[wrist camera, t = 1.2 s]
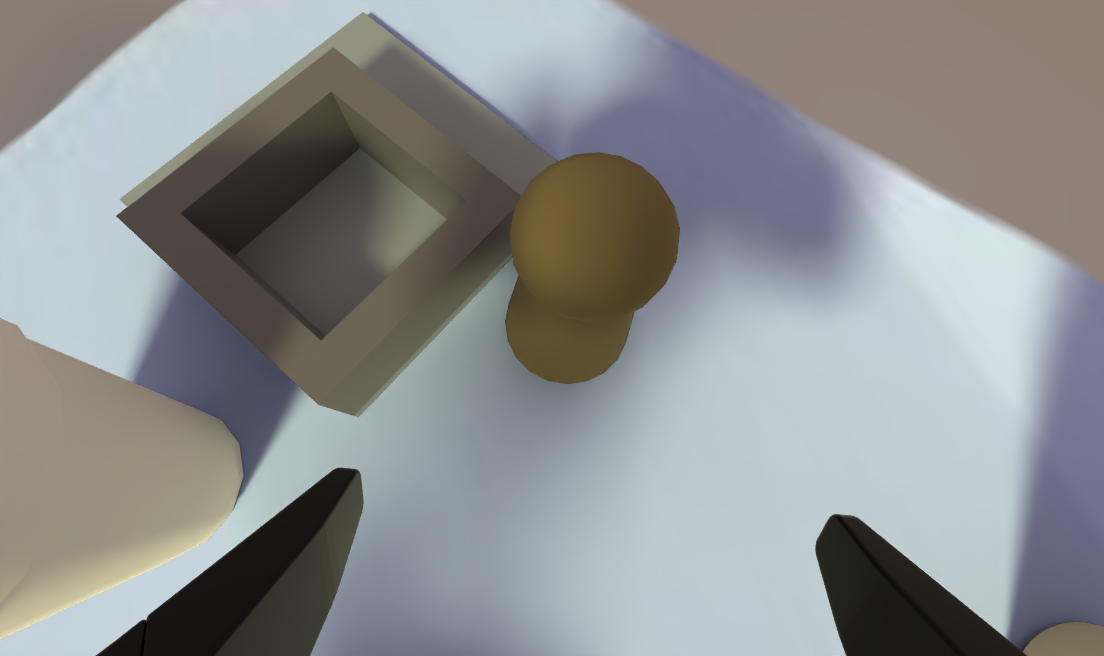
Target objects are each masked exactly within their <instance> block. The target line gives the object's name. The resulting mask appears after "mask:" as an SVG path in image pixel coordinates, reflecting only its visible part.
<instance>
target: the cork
mask: <svg viewBox="0 0 1104 656" xmlns="http://www.w3.org/2000/svg"><path fill="white" fill-rule="evenodd" d="M679 232H680V228H679V224H678V220H677V215H676V211H675V207H674V205H673V203H672V202H671V200H670V198H669V197H668V195H667V194H666V192H665V190H664V189H663V187H662V186H661V184H660V183H659V181H658V180H656V179H655V178H654V177H653V176H652V175H651V174H650V173H649V172H647V171H646V170H645V169H644V168H643V167H642V166H640V165H638V164H636V163H633V162H631V161H629V160H627V159H625V158H623V157H621V156H615V155H610V154H604V153H588V154H578V155H574V156H571V157H569V158H566V159H564V160H561V161H559V162H556V163H554V164H551V165H549V166H548V167H546V168H545V169H544V170H543V171H542V172H540V173H539V174H538V175H537V176H536V177H534V178H533V179H532V180H531V181H530V183H529V184H528V186H527V187H526V189H525V191H524V192H523V194H522V196H521V197H520V199H519V201H518V203H517V205H516V207H515V209H514V213H513V218H512V223H511V228H510V242H511V249H512V256H513V263H514V266H515V268H516V270H517V272H518V274H519V276H518V279H517V282H516V284H515V287H514V290H513V293H512V296H511V299H510V301H509V305H508V310H507V315H506V320H505V323H506V331H507V338H508V342H509V344H510V346H511V348H512V350H513V352H514V354H515V356H516V358H517V359H518V360H519V361H520V362H521V363H522V364H523V365H524V366H525V367H526V368H527V369H528V370H529V371H530V372H532V373H534V374H536V375H538V376H540V377H542V378H544V379H546V380H548V381H553V382H559V383H565V384H570V383H577V382H584V381H588V380H590V379H592V378H594V377H596V376H598V375H600V374H602V373H604V372H605V371H606V370H607V369H608V368H609V367H610V366H611V365H612V364H613V363H614V362H615V361H616V360H617V359H618V357H619V355H620V353H621V351H622V349H623V347H624V345H625V343H626V340H627V336H628V333H629V329H630V325H631V322H632V318H633V315H634V311H636V310H638V309H640V308H642V307H643V306H644V305H645V304H646V303H647V302H648V301H649V300H650V299H651V298H652V297H653V296H654V295H655V294H657V293H658V292H659V291H660V289H661V288H662V287H663V286H664V285H665V284H666V282H667V279H668V277H669V275H670V273H671V271H672V269H673V267H674V265H675V263H676V259H677V253H678V242H679Z"/></svg>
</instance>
